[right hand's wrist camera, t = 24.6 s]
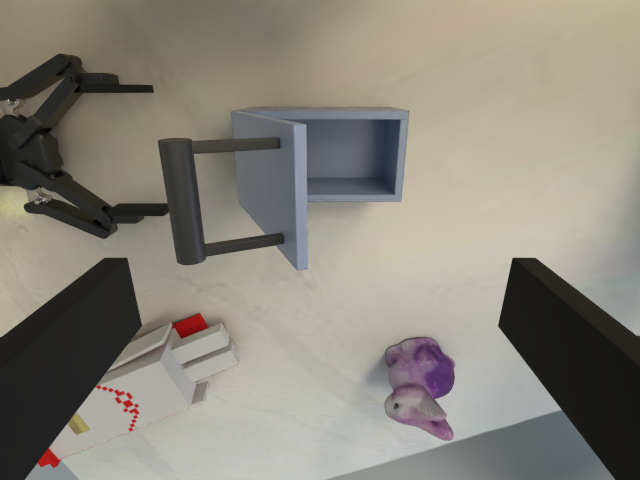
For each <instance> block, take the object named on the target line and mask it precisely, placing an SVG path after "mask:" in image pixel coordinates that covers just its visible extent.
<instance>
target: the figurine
mask: <svg viewBox="0 0 640 480" xmlns="http://www.w3.org/2000/svg"><path fill="white" fill-rule="evenodd" d="M386 354H387V355H386V362H387V364H388V367H390V368H391V369H390V371H389V381H390V384H391V387H392V389H393V393H392V394H391V395H390V396H388V397H387V399H386V400H385V403H384V407H385V412H386V414H387V416H388V417H390V418H392V419H394V420H395V421H397V422H400V423H402V424H405V425H411V426H416V427H419V428H421V429H423V430H425V431H427V432H428V433H430V434H431V435H434V436H436V437H437V438H440V439H442V440H448V441H450V440H452V439H453V438H454V433H453V430H452V429H451V427H450V426H449V424H448V423H447V421H446V420H445V419H446V416H447V414H446V413H445V412H444V411H443V409H442V408H441V407H440V405H439V404H438V403H437V402H436V400H435V399H436V398H440V397H442V396H445V395H446V394H448V393H449V392H450V391H451V389H452V387H453V384H454V378H455V377H454V370H453V369H454V368H455V362H454V360H453V359H451V358H449V357H447V356H446V355H444V354H443V353H442V351H441V349H440V346H439V344H438V343H437V342H436V341H435V340H433V339H431V338H416V339H410V340H405V341H404V342H402V343H400V344H399V345H396V346H393V347H390V348H388V349H387V351H386Z"/></svg>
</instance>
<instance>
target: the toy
mask: <svg viewBox="0 0 640 480" xmlns="http://www.w3.org/2000/svg"><path fill="white" fill-rule="evenodd" d="M228 342H229V335H228V333H227V332H226V330H225V328H224V326H223V324H222V323H220V324H218V325H215V326H213V327H210V328H208V326H207V324H206V323H205V321H204V319H203V318H202V316H201V314H200V313H199V314H196V315H194V316H192V317H190V318H187V319H185V320H183V321H180V322H178V323H176V324H174V325H172V324H171V323H169V324H167V325H165V326H163V327H161V328H159V329H157V330H155V331H153V332H151V333H149V334H147V335H145V336H143V337H141V338H139V339H137V340H135V341H133V342H131V343H129V344H128V345H127V346H126V347H125V349H124V350H123V351H122V353H121V354H120V355H119V357H118V358H117V359H116V361H115V362H114V363H113V364H112V366H111V367H110V368H109V370H108V371H107V372H106V374H105V375H104V376H103V378H102V379H101V380H100V382H99V383H98V384H97V385H96V387H95V388H94V389H93V391H92V392H91V393H90V395H89V396H88V397H87V399H86V400H85V401H84V402H83V404H82V405H81V406H80V408H79V409H78V410H77V412H76V413H75V414H74V416H73V417H72V418H71V420H70V421H69V422H68V423H67V425H66V426H65V427H64V429H63V430H62V431H61V433H60V434H59V435H58V437H57V438H56V439H55V441H54V442H53V443H52V444H51V446H50V447H49V448H48V450H47V451H46V452H45V454H44V455H43V456H42V458H41V459H40V460H39V461H38V464H39V465H40V466H41V467H42V466H45V465H47V464H51V465H52V467H53V468H54V467H56V466H58V464H59V462H60V461H61V459H62V458H65V457H67V456H70V455H72V454H75V453H77V452H80V451H82V450H85V449H87V448H90V447H92V446H95V445H97V444H100V443H102V442H105V441H107V440H110V439H112V438H115V437H117V436H120V435H122V434H125V433H127V432H130V431H132V430H135V429H137V428H140V427H142V426H145V425H147V424H150V423H152V422H155V421H157V420H160V419H162V418H165V417H167V416H170V415H172V414H175V413H177V412H180V411H182V410H185V409H188V408H192V407H195V406H198V405H201V404H204V402H205V398H206V395H207V391H208V388H209V382H208V381H207V382H204V383H200V384H197V381H198V380H201V379H203V378H206V377H208V376H211V375H213V374H216V373H218V372H221V371H223V370H226V369H228V368H231V367H233V366H236V365H238V364H239V357H240V355H239V353H238V351H237V350H236V348H235V346H234V344H233V342H231V343H228ZM196 384H197V385H196Z"/></svg>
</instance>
